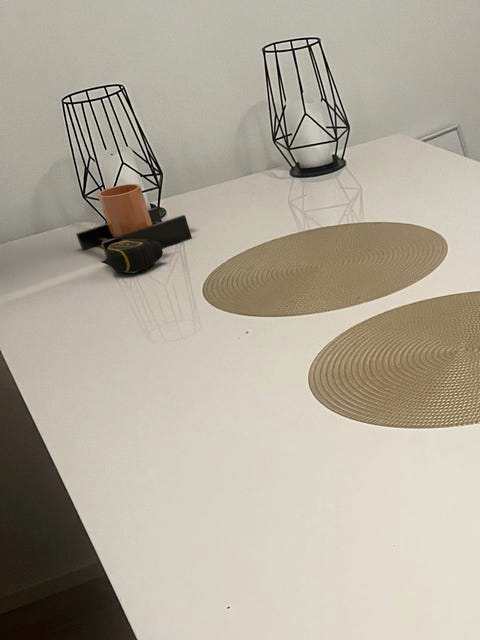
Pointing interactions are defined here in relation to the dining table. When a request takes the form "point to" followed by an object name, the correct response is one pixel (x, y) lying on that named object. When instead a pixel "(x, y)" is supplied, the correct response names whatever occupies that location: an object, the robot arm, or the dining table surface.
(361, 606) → the dining table surface
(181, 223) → the rack
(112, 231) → the pot
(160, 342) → the dining table surface
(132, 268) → the tape measure
